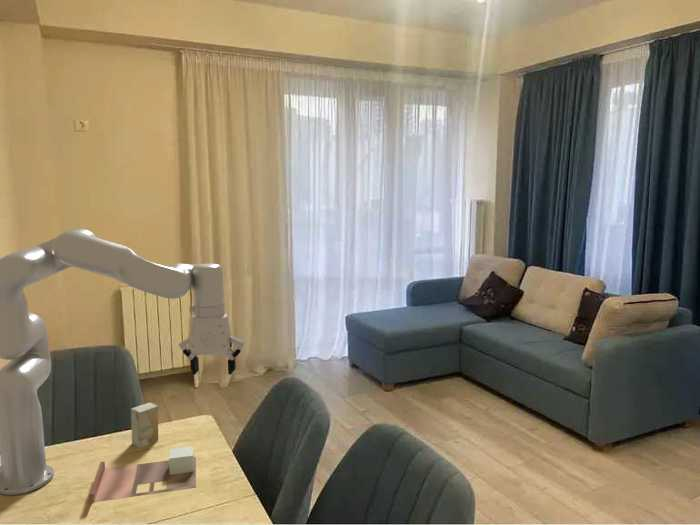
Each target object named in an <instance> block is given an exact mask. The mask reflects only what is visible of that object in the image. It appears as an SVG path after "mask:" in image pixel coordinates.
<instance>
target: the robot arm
mask: <svg viewBox="0 0 700 525" xmlns="http://www.w3.org/2000/svg"><path fill="white" fill-rule="evenodd" d="M72 267H74V268H77V269H80V270H83V271H87V272H91V273H95V274H97V275H101V276H104V277H109V278H111V279H115V280H117V281H119V282H121V283H122V284H125V285H127V286H128V287H131V288H134V289H135V290H138V291H141V292H143V293H147V294H151V295H153V296H154V295H155V296H158V297H161V298H165V299H171V300H175V299H179V298H182V297H184V296H185V295H186V294H187V293H189V291H190V290H191V291H193V296H194V297H193V301H194V305H193V306H189V312H193V314H194V315H193V316H192V317H191V322H190V334H189V335H190V337H188V338H186V339H184V340H182V341H181V342H180V343H178V345H179V347H180V349H181V351H182V353H183V354H184V356H185V357H186V358H188V360H189V361H190V362H189V364H190V365H189V366H190V371H192V375H194V376H195V375H197V373H198V372H199V371H200V365H199V364H200V363H199V357H198V356H197V355H200V356H203V355H204V356H209V355H210V356H213V355H215V356H216V355H219V356H221V355H225V356H226V357H227V359H228V360H227V373H228V375H230V376H231V375H233V373H234V372H235V371H236V368H237V367H236V357H237V356H238V355H239V354H241V352H242V350H243V348H244V347H245V344H246V343H245V341H243V340H241V339H239V338H237V337H235V336H232V332H231V331H232V330H231V324H230V320H229V317H228V314H227V313H226V312H225V311H226V310H225V294H224V278H223V277H224V275H223V272H224V271H223V267H222V265H220V264H217V263H213V262H212V263H209V262H208V263H200V264H191V263H190V264H189V263H181V262H180V263H179V262H178V263H173V264H171V265H169V266H166V265H165V266H164V265H162V264H158V263H155V262H151V261H149V260H147V259H145V258H143V257H141V256H139V255H138V254H136V253H135V252H134V251H133V250H132V249H131V248H130V247H128V246H126V245H123V244H120V243H119V244H118V243H116V242H113V241H109V240H106V239H102V238H101V237H97V235H96V234H94V232H92V231H90V230H88V229H85V228H82V227H81V228H79V227H78V228H73V229H70V230H65V231H64V232H63V231H62V232H61V233H59V234H58V235H57V236H56V237H54V238H52V239H49V240H47V241H44V242H42V243H39V244H37V245H34V246H31V247H28V248H25V249H21V250H18V251H14V252H11V253H9V254H7V255H5V256H3V257H1V258H0V359H1V360H6V361H7V360H10V361H9V362H8V363H7V364H5V365H4V366H2V367H1V368H0V464H1V466H0V494H1V495H6V496H7V495H8V496H13V495H15V496H16V495H22V494H27V493H29V492H32V491H35V490H38V489H39V488H42V487H43V486H45V485H46V484H48V483H49V482H50V481H51V480H52V479H53V477H54V474H55V473H54V468H53V467H52V466H50V465H48V464H47V460H46V459H47V458H46V449H45V448H46V447H45V446H46V445H45V435H44V423H43V421H44V420H43V414H42V412H43V411H42V406H41V402H40V400H39V398H38V389H39V388H40V387H41V386H42V385H43V384H44V383H45V381H46V380H48V378H49V376H50V374H51V372H52V359H51V350H50V343H49V342H50V341H49V340H50V339H49V333H48V328H47V325H46V323H45V321H44V320H43V319H42V318H41V316H39V314H38V315H37V314H35V313H33V312H31V311H30V312H29V308H28V307H29V304H28V300H27V297H26V294H25V292H24V289H25V288H27V287H28V286H30V285H33V284H36V283H38V282H40V281H42V280H45V279H46V278H49V277H51V276H54V275H55V274H58V273H59V272H63V271H65V270H67V269H69V268H72ZM188 344H190V347H188V346H187V345H188ZM233 345H236V350H234V349H233V348H232V347H233Z"/></svg>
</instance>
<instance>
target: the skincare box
mask: <svg viewBox="0 0 700 525" xmlns="http://www.w3.org/2000/svg"><path fill="white" fill-rule="evenodd" d="M158 409H159V408H158V405H156V404H154V403H152V402H147V403H144V404H141V405H138V406H135V407H132V408H130V415H131V416H130V417H131V418H130V420H131V422H130V423H131V424H130V425H131V444H132V445H133V446H135V447H136V448H138V449H142V448H144V447H147V446H149V445H151V444H154V443H156V442H158V441H159V413H158V412H159V410H158Z"/></svg>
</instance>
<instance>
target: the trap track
mask: <svg viewBox="0 0 700 525" xmlns="http://www.w3.org/2000/svg"><path fill="white" fill-rule="evenodd" d="M196 457H197V456H194V472H186V473H179V474H172V475H170V470H169V459H168V460H160V461H154V462H153V461H151V462H146V463H138V464H130V465H121V466H115V467H114V466H113V467H108V468H106V467H105V466H106V464H105V463H106V462H105V461H100V463H99V465H98V469H97V471H96V474H95V477H94V480H93V483H92V485H91V489H90V491H89V509H90V508H91V507H92V503H97V502H103V501H105V502H106V501H110V500H111V501H113V500H118V499H124V498H131V497H132V498H133V497H140V496H145V495H153V494H154V495H155V494H160V493H167V492H173V491H180V490H187V489H193V488H197V478H196V477H197V469H196V468H197V466H196V465H197V460H196V459H197V458H196ZM160 482H166V488H165V489H159V490H158V489H157V490H154V489H155V483H160ZM143 484H149V490H148V491H145V492H139V493H137V491H138V490H137V489H138V485H143Z"/></svg>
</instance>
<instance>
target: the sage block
mask: <svg viewBox="0 0 700 525" xmlns="http://www.w3.org/2000/svg"><path fill="white" fill-rule="evenodd" d="M194 454H195V453H194V446H183V447H178V448H177V447H176V448H169V455H168V460H169V470H170V475H172V474H179V473H186V472H194V457H195V456H194Z"/></svg>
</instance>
